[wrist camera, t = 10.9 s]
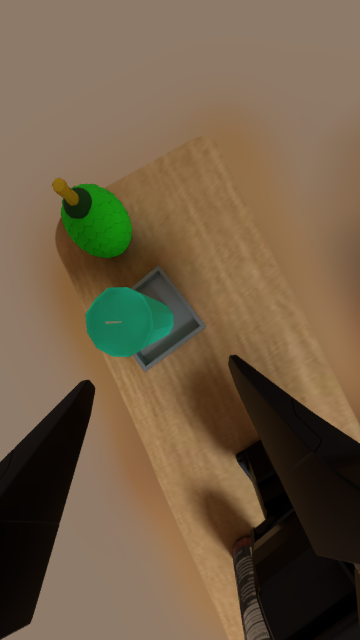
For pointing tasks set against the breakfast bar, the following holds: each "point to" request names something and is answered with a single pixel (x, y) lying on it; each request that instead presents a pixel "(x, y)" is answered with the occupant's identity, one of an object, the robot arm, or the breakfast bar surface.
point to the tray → (183, 317)
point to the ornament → (94, 219)
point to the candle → (126, 321)
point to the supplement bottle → (248, 592)
